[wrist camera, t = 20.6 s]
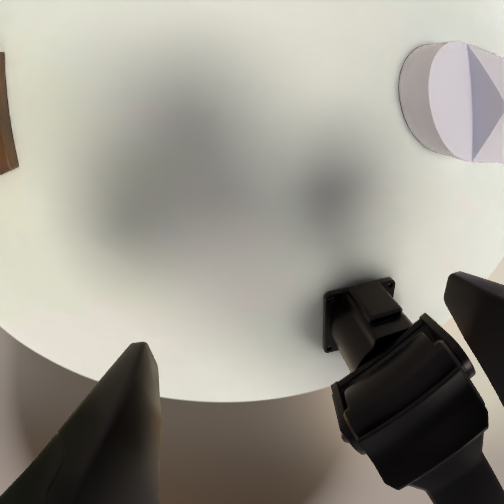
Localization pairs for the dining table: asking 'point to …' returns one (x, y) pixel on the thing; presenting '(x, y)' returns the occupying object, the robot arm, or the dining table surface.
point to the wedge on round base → (455, 100)
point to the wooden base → (5, 127)
